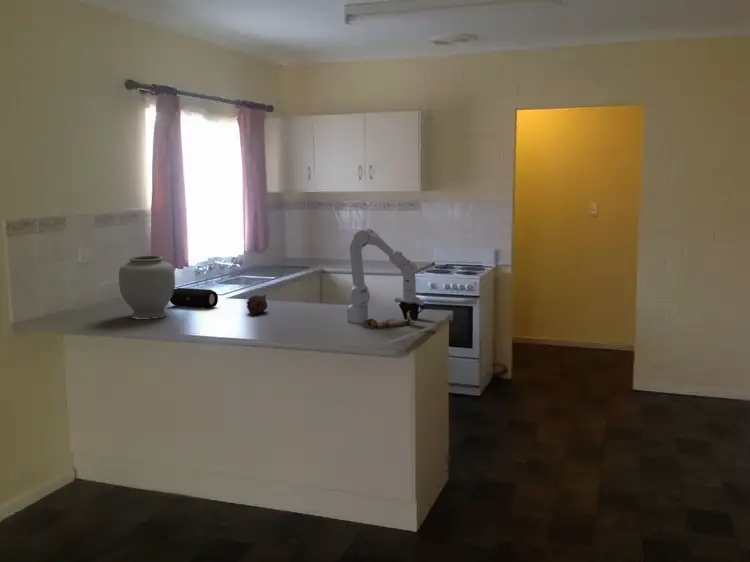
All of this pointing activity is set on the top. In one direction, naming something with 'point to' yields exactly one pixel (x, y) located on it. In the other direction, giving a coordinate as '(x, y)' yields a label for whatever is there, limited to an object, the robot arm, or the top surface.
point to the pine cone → (257, 304)
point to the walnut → (373, 323)
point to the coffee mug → (417, 310)
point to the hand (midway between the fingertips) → (409, 319)
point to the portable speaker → (194, 298)
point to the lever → (387, 324)
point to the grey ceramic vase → (147, 285)
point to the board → (367, 325)
